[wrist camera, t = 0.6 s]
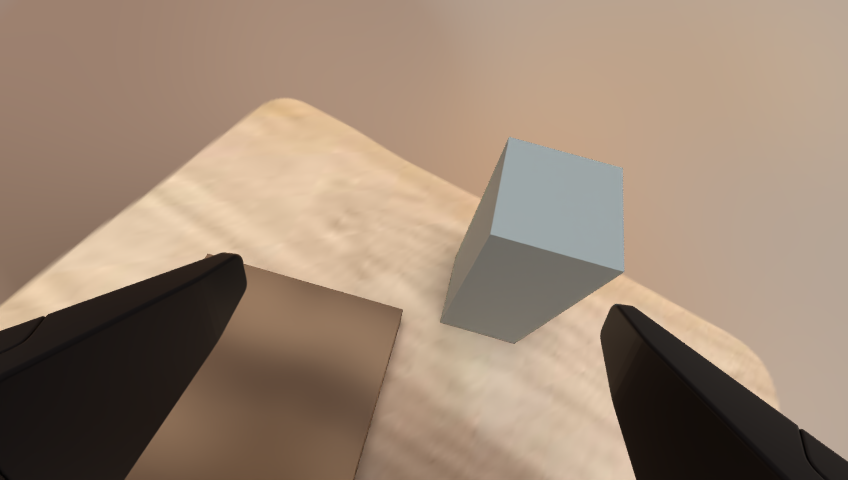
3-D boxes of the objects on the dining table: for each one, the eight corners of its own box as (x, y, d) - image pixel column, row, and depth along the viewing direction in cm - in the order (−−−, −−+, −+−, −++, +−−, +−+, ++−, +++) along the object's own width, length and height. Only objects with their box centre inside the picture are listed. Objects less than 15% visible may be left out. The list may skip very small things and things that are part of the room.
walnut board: (331, 555, 18) (325, 572, 16) (99, 484, 18) (60, 491, 16) (400, 321, 23) (402, 309, 21) (223, 270, 24) (207, 253, 22)
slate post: (514, 343, 24) (624, 271, 13) (440, 322, 24) (490, 234, 13) (523, 275, 26) (622, 168, 16) (455, 256, 26) (509, 136, 16)
